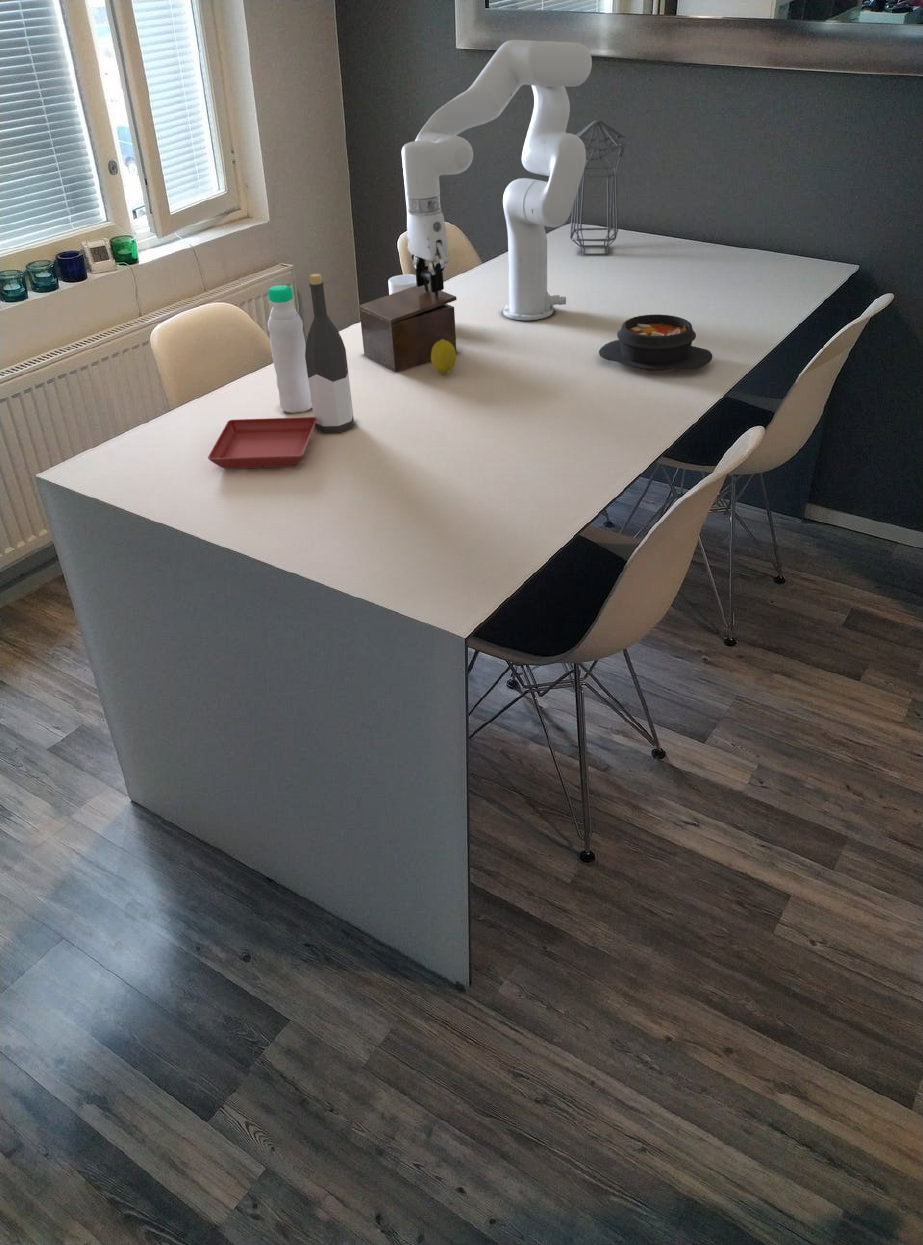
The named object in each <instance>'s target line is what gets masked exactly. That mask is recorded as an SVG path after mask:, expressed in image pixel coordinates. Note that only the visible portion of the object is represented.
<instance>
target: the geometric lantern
mask: <svg viewBox="0 0 923 1245" xmlns="http://www.w3.org/2000/svg"><path fill="white" fill-rule="evenodd" d="M599 130H600V132H601V134H602V138H603V139H601V140H600V139H599V138H600V137H599ZM590 131H591V134H590V137H589V138H588V137H586V136H587V134H589V132H590ZM575 135H576V136H578V137H579V138H580V139H581V140H582V141H583V143H584V146H585V150H586V152H587V156H586V163H585V167H584V171H583V175H582V183H581V184H582V185H581V186H582V187H581V202H580V187H579V188H578V192H577V195H576V198H575V202H574V205H573V208H572V211H571V220H570V235H569V240H570V241H572V242H573V243H575V244H576V245H577V246H578V247H579V255H582V256H607V255H609V254H610V246H611V245H612V244H613V243H614V241H616V239H617V237H618V234H619V233H618V232H619V215H618V214H619V212H618V174H617V173H618V168H619V166H620V163H621V159H622V157H623V156H624V155H623V154H624V152H625V148H626V145H625V139H626V136H624V135H623V134H621V133H620V132H619V131H617V130H615V128H613V127H611V126H610V125H609V124H606V123H605V122H604V121H603V120H600V119H596V120H595V119H594V121H592V122H590V123H589V124H588V125H587V126H585V127H584V128H582V130H580V131H579V132H578V133H576V134H575ZM606 135H607V136H608V137H607V136H606ZM593 137H594V138H593ZM620 138H621V139H620ZM609 140H611V141H610V143H609V144H608V141H609ZM585 141H588V143H587V142H585ZM592 142H595V146H592V145H591V144H592ZM600 143H605V144H604V147H600ZM613 144H614V145H613ZM618 148H619V151H618V154H617V155H616V158H615V161H614V164H613V165H612V164H611V163H610V161H609V158H608V157H607V155H609V154H610V153H612V152H614V151H615V150H616V149H617V150H618ZM590 150H592V152H591V154H590ZM606 150H608V151H606ZM596 151H597V157H593V156H594V153H595V152H596ZM600 152H602V153H603V154H601V155H600ZM603 157H605V160H606V161H607V163H608V165H609V166H606V165H605V163H604V161H603V159H602V158H603ZM597 160H599V161H600V163H601V166H602V167H601V166H599V167H597V166H596V167H587V166H588V165H589V163H590V162H591V161H592V162H593V161H597ZM616 163H617V164H616ZM608 169H610V170H611V173H609V171H608ZM586 170H604V171H605V173H606V175H600V174H599V175H588V174H587V175H586ZM585 178H606V226H607V227H582V226H583V214H584V195H585V181H586V179H585ZM610 178H611V180H610ZM610 182H611V183H610ZM612 226H613V227H612ZM579 231H580V236H581V237H580V236H579ZM583 231H607V233H606V237H605V238H584V234H583ZM612 231H613V234H612V235H611V236H610V233H611V232H612ZM574 234H575V235H576V238H574ZM585 242H603V244H585ZM587 248H588V249H589V248H593V249H594V248H600V249H601V248H603V249H604V253H585V249H587Z"/></svg>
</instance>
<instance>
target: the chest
mask: <svg viewBox="0 0 923 1245" xmlns="http://www.w3.org/2000/svg"><path fill="white" fill-rule="evenodd" d="M358 309H359V308H358ZM455 314H456V312H455V306H453V305H451V304H449V303H447V304H444V305H441V306H439V307H436V308H433V309H430V310H428V311H425V312H422V313H419V314H416V315H414V316H411V317H408V318H405V319H403V320H400V321H397V322H394V323H392V324H391V323H389V322H387V321H385V320H382V319H380V318H378V317H376V316H374V315H372V314H370V313H367V312H365V311H363V310H361V309H359V320H360V328H361V337H362V345H363V346H362V348H363V355H364V356H365V357H366V358H369V359H371V360H372V361H374V362H376V363H378V364H380V365H382V366H383V367H385V368H388V370H391V371H393V372H395V373H396V372H399V371H403V370H406V369H409V368H414V367H416V366H420V365H423V364H426V363H430V362H431V351H432V347H433V346H434V344H435V343H436V342H438V341H440V340H441V339H444V340H446V341H449V342H450V343H451V344H452V345H453V347H454V349H455V352H456V355H457V353H458V352H457V335H456V315H455Z"/></svg>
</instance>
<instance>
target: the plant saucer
mask: <svg viewBox="0 0 923 1245" xmlns="http://www.w3.org/2000/svg"><path fill="white" fill-rule="evenodd" d="M316 421H317V418H316V417H314V416H308V417H307V416H305V417H276V418H275V417H271V418H270V417H269V418H244V419H241V418H240V419H229V420H227V421H226V424H225V426H224V427H223V429H222V430H221V433H220V435H219V436H218V438H217V440H216V441H215V443H214V445H213V447H212V449H211V450H210V453H209V454H208V456H207V459H208V460H209V461H210V462H211V463H213V464H214V465H216V466H218V467H220V468H222V469H250V468H251V469H252V468H253V469H257V468H288V467H297V466H298V465H299V464H300V463H301V461H302V460H303V457H304V455H305V453H306V450H307V447H308V444H309V442H310V439H311V436H312V434H313V431H314V429H315V424H316Z"/></svg>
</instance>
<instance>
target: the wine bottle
mask: <svg viewBox="0 0 923 1245" xmlns="http://www.w3.org/2000/svg"><path fill="white" fill-rule="evenodd" d="M309 280H310V282H309V288H310V295H311V302H312V309H313V319H312V322H311V325H310V328H309V330H308V333H307V337H306V341H305V344H306V349H305V360H306V367H307V374H308V381H309V388H310V395H311V402H312V407H311V408H312V417H316V418H317V421H316V424H315V426H314V429H315V430H317V431H319V432H320V433H322V434H341V433H344V432H347V431H348V430H350V429H351V430H352V428H353V425H354V408H353V401H352V391H351V385H350V384H351V383H350V376H349V366H348V359H347V358H348V356H347V351H346V350H347V349H346V346H345V343H344V340H343V338H342V336H341V334H340V332H339V330H338V328H337V327H336V326H335V324H334V323H333V321H332V320H331V318H330V317H329V316H328V311H327V304H326V295H325V288H324V281H323V280H322V274H321V273H312V274H310V275H309Z"/></svg>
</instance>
